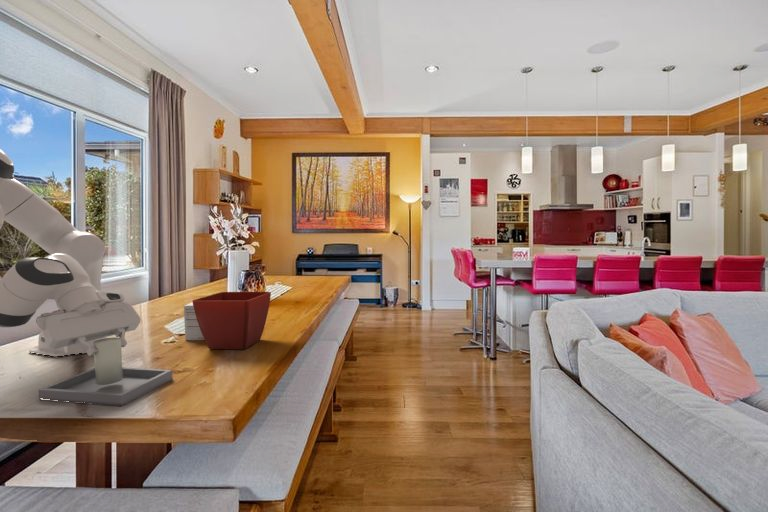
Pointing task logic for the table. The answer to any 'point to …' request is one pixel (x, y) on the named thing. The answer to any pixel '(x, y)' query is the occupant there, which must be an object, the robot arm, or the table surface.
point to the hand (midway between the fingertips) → (109, 349)
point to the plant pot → (232, 318)
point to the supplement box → (191, 324)
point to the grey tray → (107, 387)
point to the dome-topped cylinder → (108, 361)
